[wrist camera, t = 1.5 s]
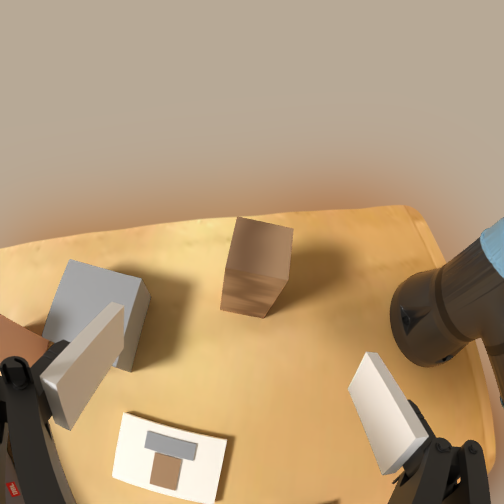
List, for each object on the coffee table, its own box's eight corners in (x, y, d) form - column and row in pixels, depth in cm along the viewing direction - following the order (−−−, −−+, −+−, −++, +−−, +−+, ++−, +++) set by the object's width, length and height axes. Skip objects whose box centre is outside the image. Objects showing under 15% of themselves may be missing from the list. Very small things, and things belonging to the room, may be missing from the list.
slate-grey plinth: (151, 297, 34) (141, 278, 29) (131, 372, 29) (116, 367, 24) (86, 279, 34) (69, 258, 28) (64, 347, 29) (41, 336, 23)
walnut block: (269, 279, 37) (293, 228, 27) (263, 318, 35) (288, 280, 24) (228, 270, 37) (237, 216, 27) (219, 309, 34) (225, 267, 24)
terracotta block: (49, 340, 28) (-5, 311, 18) (39, 377, 25) (-18, 361, 15) (22, 327, 28) (-30, 295, 18) (13, 362, 25) (-43, 340, 15)
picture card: (226, 438, 27) (227, 440, 26) (213, 502, 22) (213, 505, 21) (125, 412, 26) (123, 412, 25) (114, 474, 22) (111, 477, 21)
